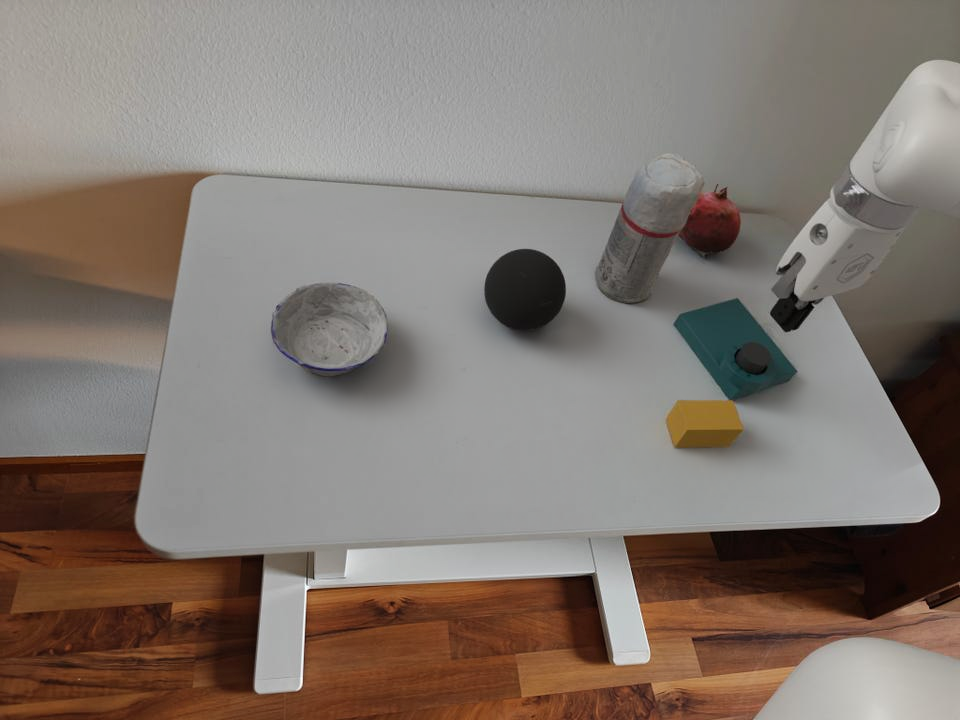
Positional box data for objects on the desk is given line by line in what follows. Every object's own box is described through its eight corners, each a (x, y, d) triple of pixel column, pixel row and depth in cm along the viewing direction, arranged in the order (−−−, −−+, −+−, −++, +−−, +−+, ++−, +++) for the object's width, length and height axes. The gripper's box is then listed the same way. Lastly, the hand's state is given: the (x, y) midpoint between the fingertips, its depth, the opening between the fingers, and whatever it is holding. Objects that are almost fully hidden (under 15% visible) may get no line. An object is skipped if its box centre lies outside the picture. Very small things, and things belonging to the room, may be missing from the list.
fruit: (705, 274, 104) (735, 222, 96) (654, 236, 107) (679, 182, 100) (739, 249, 109) (770, 197, 101) (689, 212, 112) (716, 160, 104)
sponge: (718, 418, 89) (733, 400, 86) (729, 447, 86) (744, 429, 83) (665, 418, 87) (677, 400, 84) (674, 447, 85) (687, 429, 82)
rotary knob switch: (793, 385, 94) (809, 367, 91) (731, 406, 90) (746, 388, 87) (730, 308, 101) (743, 288, 98) (671, 324, 97) (683, 305, 94)
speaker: (499, 276, 97) (514, 220, 89) (566, 309, 96) (587, 254, 88) (464, 323, 91) (477, 267, 83) (535, 359, 90) (555, 305, 82)
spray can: (643, 315, 97) (703, 199, 81) (585, 292, 98) (634, 173, 82) (656, 275, 102) (715, 159, 87) (601, 254, 103) (650, 135, 87)
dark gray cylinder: (769, 370, 90) (777, 360, 88) (746, 378, 89) (754, 368, 87) (751, 348, 92) (759, 338, 90) (729, 355, 90) (736, 345, 89)
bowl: (276, 399, 80) (273, 373, 76) (270, 310, 88) (268, 283, 84) (393, 389, 83) (396, 364, 80) (378, 305, 91) (380, 278, 87)
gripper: (847, 235, 64) (753, 362, 78) (957, 208, 70) (850, 331, 84) (793, 181, 68) (712, 312, 82) (901, 160, 74) (808, 286, 88)
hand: (782, 321), depth 83 cm, fingers closed
